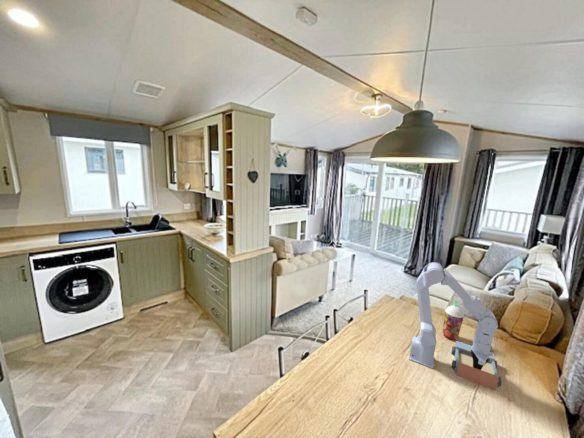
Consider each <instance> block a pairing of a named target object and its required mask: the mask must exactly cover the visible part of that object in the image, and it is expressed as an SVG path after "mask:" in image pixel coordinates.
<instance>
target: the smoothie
mask: <svg viewBox="0 0 584 438" xmlns="http://www.w3.org/2000/svg"><path fill="white" fill-rule="evenodd" d="M443 316H444V317H443V326H442V334H443V337H444V336H445V337H444V338H446V339H447V338H448V340H450V341H457V340H458V338H459V335H460V331H461V328H462V324H463V321H464V317H465V314H464V312H463V310H462V308H461V307H459V306H458V300H455V304H451V305H449V306H447V307H446V308H445V309H444V315H443Z"/></svg>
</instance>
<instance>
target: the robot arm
mask: <svg viewBox="0 0 584 438" xmlns="http://www.w3.org/2000/svg"><path fill="white" fill-rule="evenodd" d="M437 284H440V285H442V286H448V287H449V288H450V289H451V290H452V291H453V292H454V293H455V294H456V295H457V296H458V297H459V298H461V300H462V305H463V306H464V308H465V309H466V310H468V312H469V313H470V314H471V315H472V316H473V317H474V318H475V319H477V324H476V328H475V332H474V336H473V341H472V345H471V346H472V347H471V349H472V350H471V355H472V358H473V367H474V368H476V369H479V370H481V369H482V367H483V366H485V364H486V363H488V361H489V360H488V357H489V356H491V357H493V353H494V352H492V351H491V349H492V348H491V347H492V344H493V338H494V335H495V330H497V329H498V328H499V324H498V320H497V318H496V316H495V314H494V313H493V311H492V310H491V309H490V308H487V307H486V306H485V304H483V303H482V302H483V301H482V299H481V298H480V297H478V298H477V296H475V295H472V294H469V293H468V291H466V289H465V288H464V287H463V286H462V285H461V284H460V283H459V282H458V280H456V278H455V277H454V276H453V274H452V273H450V272H449V271H448V270H447V269H446V268H444V267H443V266H442V264H441V263H439V262H437V261H432V262H429V263H427V264H426V265H425V266H424V267H423V269H422V271H421V273H420V274H419V276H418V277H417V278H416V284H415V285H416V292H417V293H416V294H417V301H418V309H419V311H418V312H419V318H420V326H419V329H420V331H419V335H418V336H412V340H411V345H410V346H411V347H409V358H408V359H409V360H410V361H413V362H415V363H417V364H419V365H420V364H421V365H424V366H426V367H428V368H431V369H434V365H435V364H434V363H435V352H436V347H437V346H436V344H437V337H436V333H437V329H436V327H435V326H434V321H433V318H432V308H431V301H430V300H431V299H430V291H429V290H430V289H429V288H430V287H432V286H434V285H437Z"/></svg>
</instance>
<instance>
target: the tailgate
mask: <svg viewBox="0 0 584 438" xmlns="http://www.w3.org/2000/svg"><path fill="white" fill-rule="evenodd" d="M455 374H456V376H458V377H461V378H463V379H466V380H469V381H471V382H475V383H477V384H479V385H482V386H484V387H487V388H489V389H492V390H495V391H496V390H497V389H496V387H497V388H498V386H497V382H498V378H499V377H500V376H499V375H498V376H499V377H498V376H496V375H493V374H490V373H487V372H485V371H482V370H479V369H476V368H474V367H471V366H468V365H465V364H463V363H460V362H459V363H458V368H457V373H455Z"/></svg>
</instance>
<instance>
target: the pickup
mask: <svg viewBox="0 0 584 438" xmlns="http://www.w3.org/2000/svg"><path fill="white" fill-rule="evenodd" d="M471 347H472V345H470V344H467V343H465V342H461V341H458V340H455V346H454V345H452V347H451V354H452V355H454V359H452V362H451V368H452V369H454V373H455V374H456V373H457V368H458V363H459V362H460V363H463V364H465V365H468V366H471V367H473V358H472V355H471V350H472V349H471ZM492 353H493V357H491V356H489V357H488V360H489V361H488V363H486V364H485V366H483V367H482V369H481V370H482V371H485V372H487V373H490V374H493V375H496V376H498V377H499V378H498V382H497V387H496V388H497V389H498V386H500V387H501V385H502V377H501V376H499V374H498V371H497V367H498V360H496V359H495V354H494V352H492Z"/></svg>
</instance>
